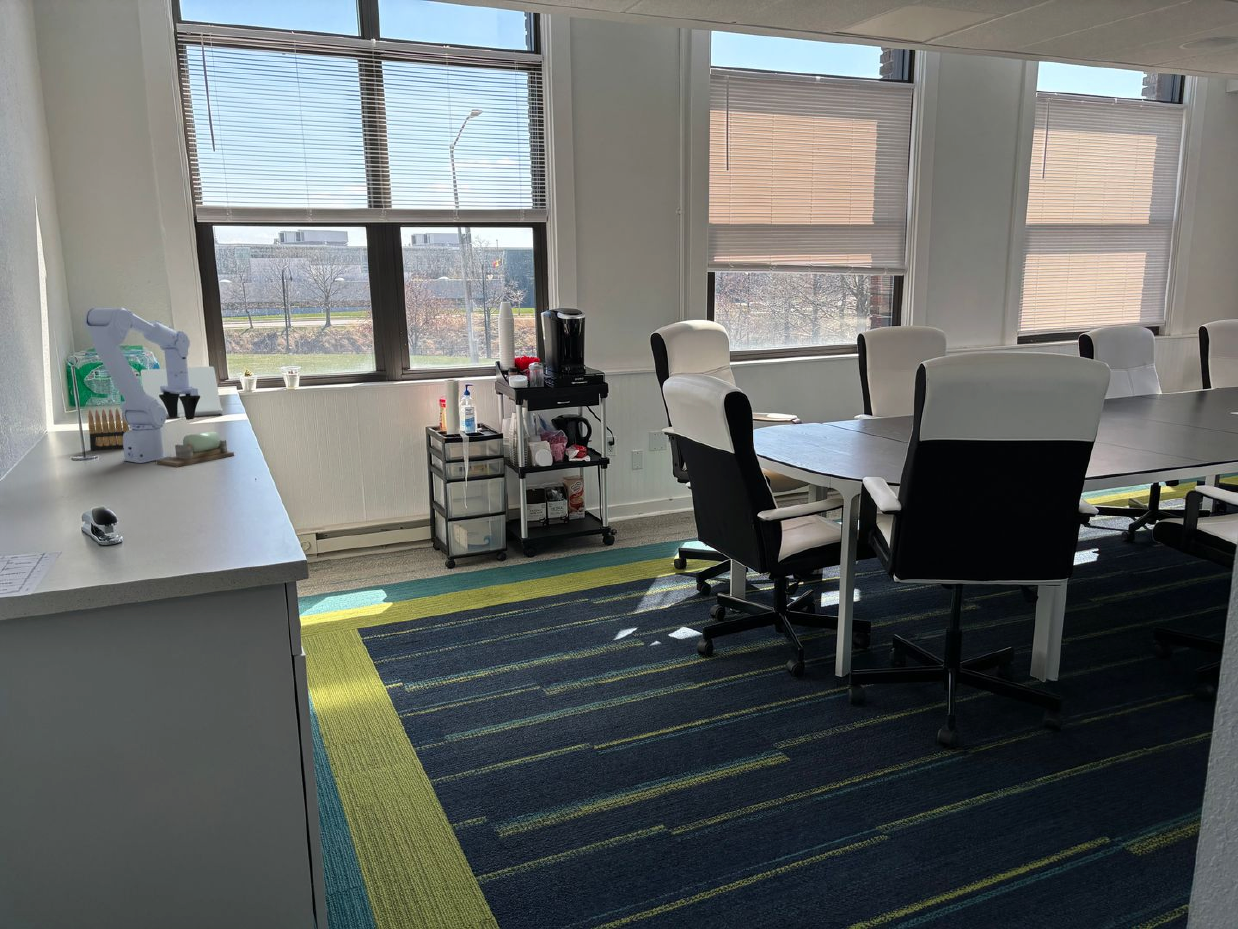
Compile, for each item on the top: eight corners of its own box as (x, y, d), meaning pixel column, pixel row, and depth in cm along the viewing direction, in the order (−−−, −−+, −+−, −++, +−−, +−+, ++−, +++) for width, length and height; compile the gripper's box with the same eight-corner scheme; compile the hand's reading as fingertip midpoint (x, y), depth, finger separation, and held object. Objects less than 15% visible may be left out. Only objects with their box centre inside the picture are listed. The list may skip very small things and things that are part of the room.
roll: (195, 455, 255) (194, 436, 253) (183, 452, 257) (182, 434, 256) (220, 450, 261) (219, 432, 260) (208, 447, 264) (207, 430, 263)
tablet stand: (144, 414, 341) (139, 369, 337) (216, 409, 353) (212, 365, 350) (148, 421, 325) (143, 373, 322) (223, 415, 338) (219, 369, 335)
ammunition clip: (90, 450, 270) (85, 410, 268) (91, 449, 272) (86, 409, 269) (131, 448, 274) (127, 408, 272) (131, 447, 276) (127, 407, 274)
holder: (177, 466, 248) (176, 450, 247) (156, 463, 252) (155, 447, 251) (234, 455, 263) (232, 440, 262) (213, 452, 267) (211, 437, 267)
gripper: (205, 372, 267) (209, 418, 270) (173, 369, 274) (178, 414, 277) (184, 374, 261) (188, 421, 264) (151, 371, 268) (156, 417, 271)
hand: (181, 418), depth 270 cm, fingers open, 7 cm apart
